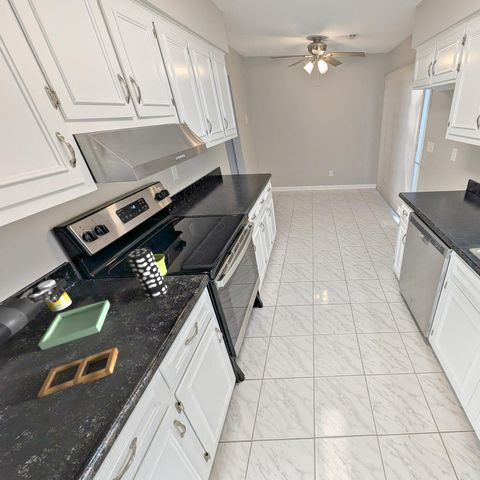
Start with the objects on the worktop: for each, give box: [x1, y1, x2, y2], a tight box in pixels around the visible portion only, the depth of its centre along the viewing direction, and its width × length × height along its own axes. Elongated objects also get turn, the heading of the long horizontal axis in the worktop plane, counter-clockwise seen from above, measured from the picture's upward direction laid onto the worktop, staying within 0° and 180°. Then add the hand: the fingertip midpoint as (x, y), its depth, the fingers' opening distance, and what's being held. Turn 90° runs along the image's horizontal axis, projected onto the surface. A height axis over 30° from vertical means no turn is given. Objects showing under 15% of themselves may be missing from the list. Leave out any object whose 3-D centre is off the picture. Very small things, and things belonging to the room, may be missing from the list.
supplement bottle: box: [37, 279, 72, 312], centre depth 85 cm, size 5×5×10 cm
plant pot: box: [153, 253, 168, 277], centre depth 119 cm, size 9×9×9 cm
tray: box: [37, 299, 111, 351], centre depth 94 cm, size 16×16×3 cm
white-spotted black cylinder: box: [125, 246, 169, 300], centre depth 104 cm, size 8×8×20 cm
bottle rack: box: [37, 347, 119, 399], centre depth 75 cm, size 16×9×2 cm, turn 115°
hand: (54, 282), depth 85 cm, fingers closed on supplement bottle, 5 cm apart
